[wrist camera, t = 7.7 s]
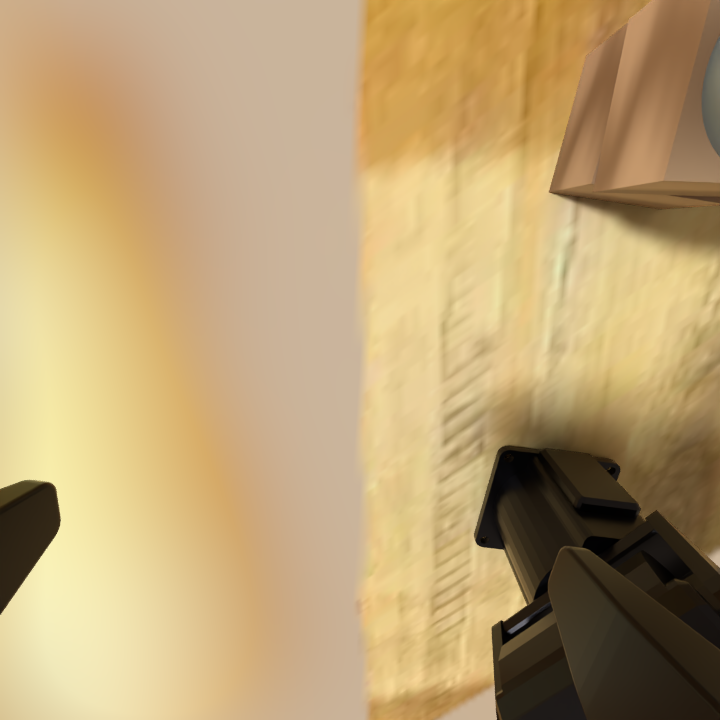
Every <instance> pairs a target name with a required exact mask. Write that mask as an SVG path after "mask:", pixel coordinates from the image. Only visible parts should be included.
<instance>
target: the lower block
mask: <svg viewBox="0 0 720 720" xmlns="http://www.w3.org/2000/svg"><path fill="white" fill-rule="evenodd" d="M627 26H628V23H627V24H626V25H624V26H623V27H622V28H621V29H619V30H618V31H617V32H616V33H614V34H613V35H612V36H611V37H609V38H608V39H607V40H606V41H604V42H603V43H602V44H601V45H599V46H598V47H597V48H595V49H594V50H593V51H592V52H590V53H589V54H588V55H587V56H586V59H585V63H584V67H583V70H582V74H581V77H580V81H579V85H578V88H577V92H576V96H575V99H574V103H573V106H572V110H571V114H570V117H569V121H568V125H567V128H566V132H565V136H564V139H563V143H562V146H561V150H560V154H559V157H558V161H557V165H556V168H555V172H554V176H553V179H552V183H551V186H550V190H549V192H551V193H558V194H564V195H571V196H578V197H584V198H591V199H597V200H604V201H610V202H617V203H624V204H630V205H637V206H643V207H650V208H657V209H670V208H684V207H699V206H714V205H720V197H707V196H680V195H653V194H625V193H598V192H593V188H594V183H595V178H596V174H597V169H598V164H599V159H600V155H601V150H602V145H603V140H604V135H605V131H606V126H607V121H608V116H609V112H610V107H611V102H612V97H613V93H614V88H615V83H616V78H617V74H618V69H619V64H620V59H621V55H622V50H623V45H624V40H625V36H626V31H627Z"/></svg>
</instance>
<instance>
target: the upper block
mask: <svg viewBox="0 0 720 720" xmlns="http://www.w3.org/2000/svg"><path fill="white" fill-rule="evenodd" d="M719 36H720V0H652V1H651V2H650V3H648V4H647V5H646V6H645V7H643V8H642V9H641V10H640V11H638V12H637V13H636V14H635V15H633V16H632V17H631V18H630V19H629V21H628V26H627V31H626V36H625V40H624V45H623V50H622V55H621V59H620V64H619V69H618V74H617V78H616V83H615V88H614V93H613V97H612V102H611V107H610V112H609V116H608V121H607V126H606V131H605V135H604V140H603V145H602V150H601V155H600V159H599V164H598V169H597V174H596V178H595V183H594V188H593V192H598V193H625V194H653V195H680V196H707V197H720V157H719V156H718V154H717V153H716V151H715V150H714V148H713V147H712V145H711V143H710V141H709V139H708V137H707V134H706V130H705V127H704V123H703V116H702V90H703V82H704V77H705V73H706V68H707V65H708V62H709V59H710V56H711V53H712V51H713V49H714V47H715V44H716V42H717V40H718V38H719Z"/></svg>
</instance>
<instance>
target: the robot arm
mask: <svg viewBox="0 0 720 720" xmlns="http://www.w3.org/2000/svg"><path fill="white" fill-rule="evenodd" d="M507 454H511V456H510V457H508V458H504V457H505V455H507ZM609 467H611V468H610V469H609V470H608V471H606V470H607V469H608V468H609ZM619 473H620V466H619V465H617V464H616V463H615V462H614V461H613V460H611V459H606V458H598V457H592V456H591V455H590V454H586V453H579V452H571V451H563V450H555V449H547V448H545V449H542V450H536V449H528V448H520V447H512V446H504V447H502V448H500V449H499V450H498V452H497V455H496V459H495V462H494V466H493V469H492V473H491V476H490V480H489V483H488V487H487V491H486V494H485V498H484V501H483V505H482V508H481V512H480V515H479V519H478V522H477V526H476V529H475V533H474V538H475V541H476V543H477V545H479V546H481V547H487V548H495V549H503V550H504V551H505V553H506V556H507V558H508V560H509V563H510V565H511V568H512V570H513V572H514V575H515V577H516V580H517V582H518V584H519V587H520V589H521V592H522V594H523V596H524V599H525V601H526V604H527V606H525V607H524V608H523V609H521V610H520V611H518V612H517V613H516V614H514V615H513V616H511V617H510V618H508V619H507V620H506V621H502V620H501V621H500V622H498V623H497V624H495V625H494V626H493V627H492V644H493V663H494V681H495V700H496V715H497V720H720V568H719V567H718V566H717V565H716V564H715V563H714V562H713V561H712V560H711V559H709V558H708V557H707V556H706V555H705V554H704V553H703V552H702V551H701V550H700V549H699V548H697V547H696V546H695V545H694V544H693V543H692V542H691V541H690V540H689V539H688V538H687V537H685V536H684V535H683V534H682V533H681V532H680V531H679V530H678V529H677V528H676V527H675V526H673V525H672V524H671V523H670V522H669V521H668V520H667V519H666V518H665V517H664V516H663V515H661V514H660V513H659V512H658V511H657V510H656V511H655V512H653V513H652V514H650V515H649V516H648V517H646V520H647V521H646V522H645V521H644V520H643V519H642V517H641V516H640V515H639V512H640V510H641V508H640V506H639V505H638V503H637V502H636V501H635V500H634V499H633V498H632V497H631V496H630V495H629V494H628V493H627V492H626V490H625V489H624V488H623V487H622V486H621V485H620V484H619V483H618V482H617V478H618V476H619ZM60 521H61V519H60V512H59V505H58V498H57V491H56V488H55V486H54V485H53V484H52V483H49V482H43V481H36V480H24V481H21V482H18V483H15V484H13V485H10V486H7V487H4V488H2V489H0V614H1V613H2V612H3V610H4V609H5V608H6V606H7V605H8V603H9V602H10V600H11V599H12V597H13V596H14V595H15V593H16V592H17V590H18V589H19V587H20V586H21V585H22V583H23V582H24V580H25V579H26V577H27V576H28V574H29V573H30V572H31V570H32V569H33V567H34V566H35V564H36V563H37V562H38V560H39V559H40V557H41V556H42V554H43V553H44V551H45V550H46V549H47V547H48V546H49V544H50V543H51V541H52V540H53V539H54V537H55V536H56V534H57V532H58V530H59V527H60ZM482 537H485V538H482Z"/></svg>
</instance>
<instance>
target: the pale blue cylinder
mask: <svg viewBox="0 0 720 720" xmlns="http://www.w3.org/2000/svg"><path fill="white" fill-rule="evenodd" d="M702 116H703V123H704V127H705V130H706V134H707V137H708V139H709V141H710V143H711V145H712V147H713V148H714V150H715V151H716V153H717V154H718V156H719V157H720V36H719V38H718V40H717V42H716V44H715V47H714V49H713V51H712V53H711V56H710V59H709V62H708V65H707V68H706V73H705V77H704V82H703V90H702Z"/></svg>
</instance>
